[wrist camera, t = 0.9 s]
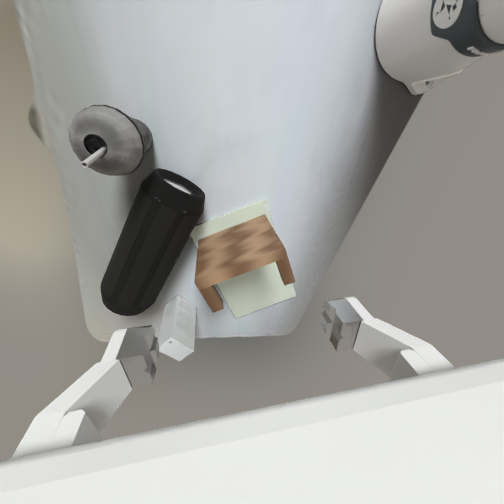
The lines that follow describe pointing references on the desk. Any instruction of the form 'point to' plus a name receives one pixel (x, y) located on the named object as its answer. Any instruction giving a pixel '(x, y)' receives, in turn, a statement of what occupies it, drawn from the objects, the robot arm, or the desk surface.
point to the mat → (253, 282)
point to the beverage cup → (109, 140)
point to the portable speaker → (151, 241)
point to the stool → (238, 256)
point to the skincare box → (177, 329)
